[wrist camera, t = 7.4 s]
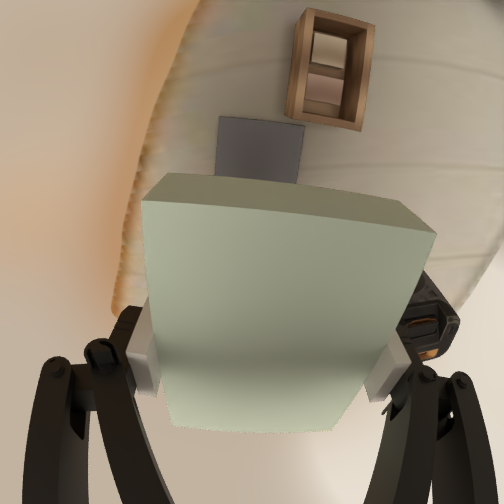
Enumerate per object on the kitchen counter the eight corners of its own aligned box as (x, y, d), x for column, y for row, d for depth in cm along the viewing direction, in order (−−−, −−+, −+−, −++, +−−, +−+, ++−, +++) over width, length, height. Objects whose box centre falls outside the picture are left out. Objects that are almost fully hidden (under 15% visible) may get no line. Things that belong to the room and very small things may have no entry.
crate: (296, 23, 26) (306, 7, 20) (352, 36, 26) (375, 25, 20) (284, 115, 32) (292, 119, 26) (340, 124, 32) (360, 131, 26)
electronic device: (391, 224, 39) (466, 315, 21) (385, 260, 42) (446, 357, 24) (330, 227, 39) (384, 332, 22) (328, 264, 42) (370, 375, 25)
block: (176, 163, 11) (141, 200, 7) (384, 189, 12) (436, 233, 8) (182, 365, 17) (171, 425, 14) (319, 373, 18) (331, 430, 14)
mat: (219, 116, 32) (219, 116, 31) (304, 126, 32) (304, 126, 32) (212, 223, 39) (211, 225, 38) (287, 230, 39) (287, 231, 39)
